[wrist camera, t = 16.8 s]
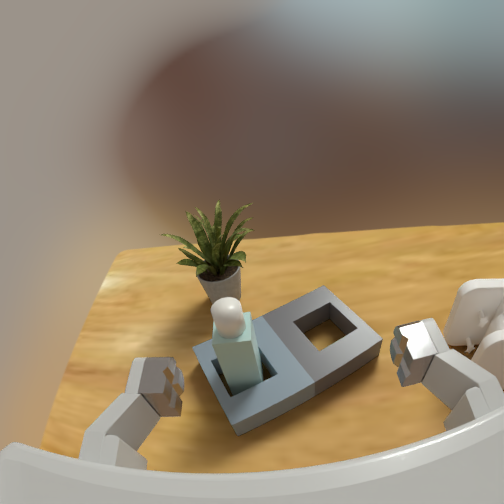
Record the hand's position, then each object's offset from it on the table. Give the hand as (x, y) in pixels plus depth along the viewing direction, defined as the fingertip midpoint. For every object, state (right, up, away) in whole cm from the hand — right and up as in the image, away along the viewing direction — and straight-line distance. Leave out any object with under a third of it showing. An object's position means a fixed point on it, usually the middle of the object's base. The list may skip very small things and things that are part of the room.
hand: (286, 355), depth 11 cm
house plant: (-4, -4, +42) cm, 42 cm away
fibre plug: (-2, -13, +28) cm, 31 cm away
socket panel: (+4, -11, +29) cm, 32 cm away
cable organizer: (+31, -12, +21) cm, 40 cm away
